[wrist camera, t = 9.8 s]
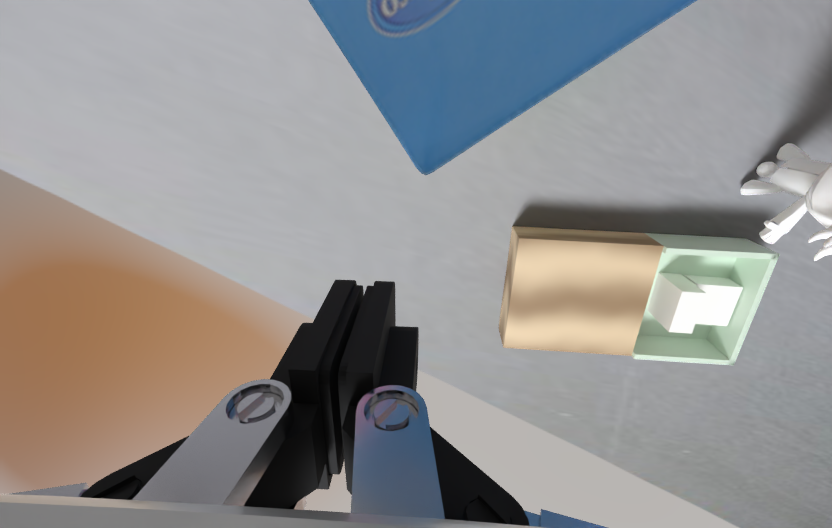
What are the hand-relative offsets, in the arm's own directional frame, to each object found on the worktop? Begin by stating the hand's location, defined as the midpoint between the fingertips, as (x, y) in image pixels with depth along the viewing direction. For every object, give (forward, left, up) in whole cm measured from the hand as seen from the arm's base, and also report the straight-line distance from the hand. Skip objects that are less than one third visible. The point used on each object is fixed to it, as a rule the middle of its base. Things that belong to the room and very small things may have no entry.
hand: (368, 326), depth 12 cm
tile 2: (+10, +27, -24) cm, 38 cm away
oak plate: (+10, +15, -26) cm, 32 cm away
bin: (+10, +26, -26) cm, 38 cm away
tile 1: (+10, +23, -24) cm, 35 cm away
